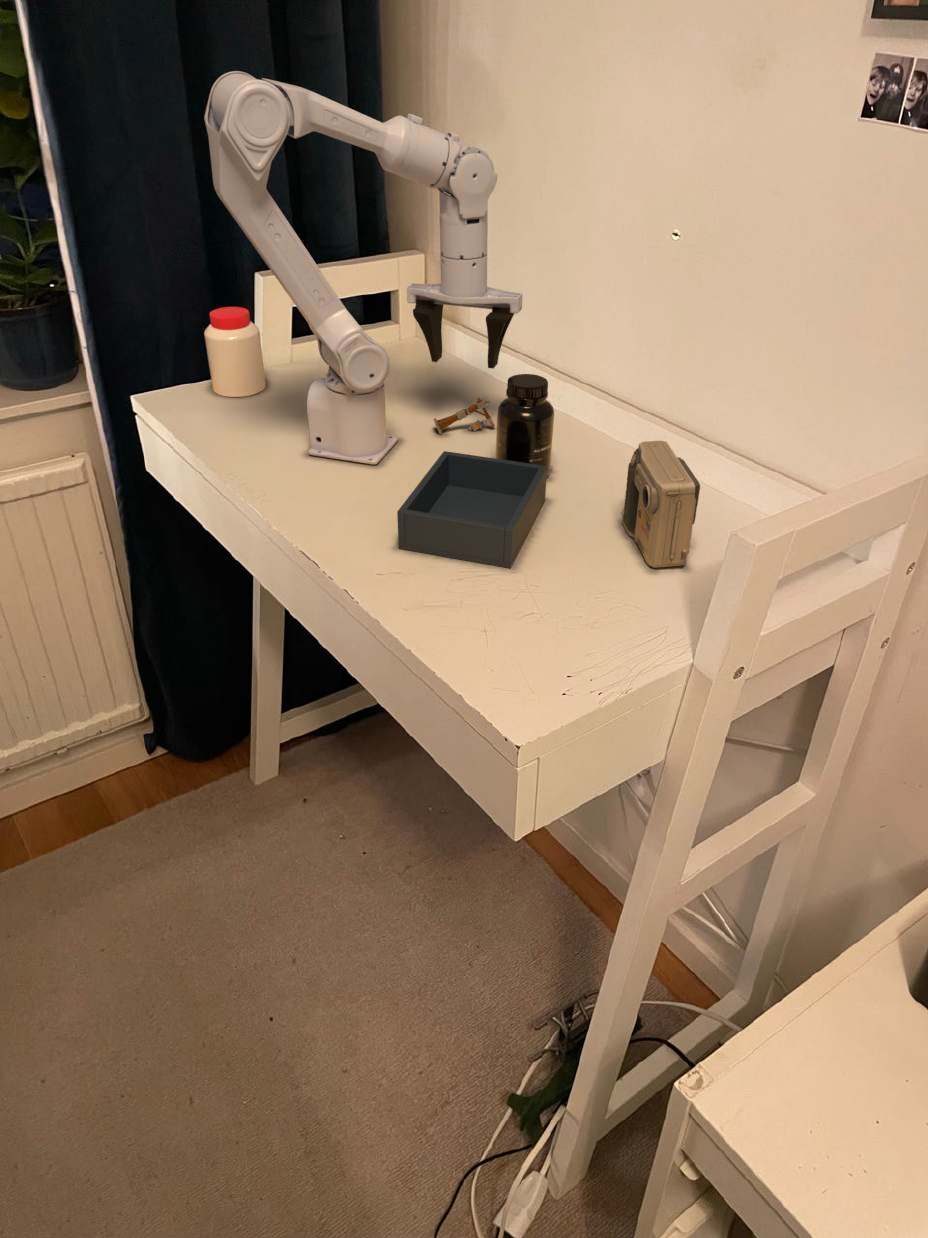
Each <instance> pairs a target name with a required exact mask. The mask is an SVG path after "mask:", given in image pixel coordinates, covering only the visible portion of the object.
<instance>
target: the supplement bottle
mask: <svg viewBox="0 0 928 1238" xmlns="http://www.w3.org/2000/svg"><path fill="white" fill-rule="evenodd" d="M548 389H549V381H548V379H547V378H546V377H544V376H541V375H538V374H533V373H520V374H519V373H518V374H514V375H512V376H510V377H508V379H507V383H506V390H505V396H506V397H505V398H504V399H503V400H502V401H500V403H499V405H498V407H497V415H496V416H497V417H496V437H495V438H496V439H495V459H502V460H509V461H516V462H522V463H529V464H536V465H542V466H547V477H548V476H549V474H550V470H551V469H550V468H551V461H552V459H551V458H552V448H553V447H552V446H553V436H554V425H555V424H554V422H555V409H554V406H553V405H552V403H551V402H550V401H549V400H548V397H549V391H548Z"/></svg>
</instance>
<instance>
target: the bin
mask: <svg viewBox="0 0 928 1238" xmlns="http://www.w3.org/2000/svg"><path fill="white" fill-rule="evenodd" d="M547 477H548V476H547V466H542V465H536V464H529V463H522V462H516V461H509V460H502V459H495V458H494V457H487V456H481V455H473V454H468V453H461V452H455V451H454V452H453V451H446V450H443V451H442V453H441V454H440V455H439V457H438V458H437V459H436V461H435V462H434V464H433V465H432V466H431V467H430V469H429V470H428V471H427V472H426V474H425V475H424V476H423V477H422V479H421V480H420V481H419V483H418V484H417V485H416V486H415V488H414V489H413V491H412V492H411V493H410V494H409V496H408V497H407V498H406V500H404V502H403V503H402V504H401V506H400V507H399V508H398V510H397V512H396V513H397V517H396V518H397V541H398V542H397V543H398V549H399V550H403V551H409V552H416V553H421V554H425V555H426V554H427V555H433V556H437V557H443V558H449V559H455V560H461V561H467V562H473V563H478V564H485V565H489V566H496V567H502V568H506V569H511V568H512V566H513V564H514V562H515V560H516V558H517V556H518V554H519V552H520V551H521V548H522V547H523V545H524V543H525V541H526V539H527V537H528V535H529V533H530V531H531V529H532V527H533V525H534V523H535V521H536V519H537V518H538V515H539V514H540V512H541V510H542V508H543V506H544V504H545V502H546V492H547V491H546V490H547V479H548V478H547Z"/></svg>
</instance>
